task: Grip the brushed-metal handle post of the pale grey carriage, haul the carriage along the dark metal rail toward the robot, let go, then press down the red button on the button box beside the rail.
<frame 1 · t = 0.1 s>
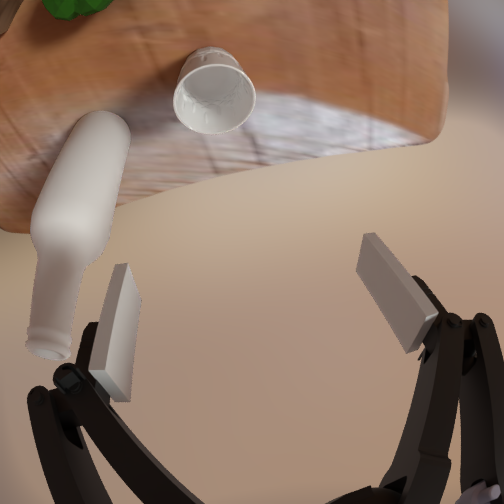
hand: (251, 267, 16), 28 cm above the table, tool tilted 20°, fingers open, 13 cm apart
white cup: (209, 69, 31), on the table
alcohol: (102, 134, 35), on the table
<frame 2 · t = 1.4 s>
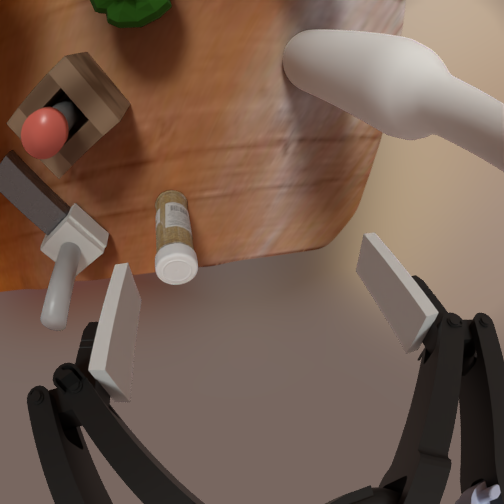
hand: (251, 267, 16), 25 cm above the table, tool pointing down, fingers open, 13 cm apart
sprinkles bottle: (171, 202, 40), on the table
alcohol: (312, 60, 31), on the table
carriage: (64, 271, 32), point 8 cm above the table, slide at 0.0 cm
rail: (48, 206, 34), on the table
red button: (57, 121, 20), point 8 cm above the table, slide at 0.0 cm
button box: (80, 102, 27), on the table
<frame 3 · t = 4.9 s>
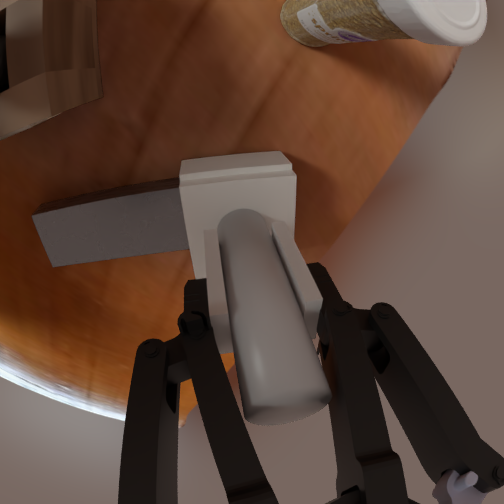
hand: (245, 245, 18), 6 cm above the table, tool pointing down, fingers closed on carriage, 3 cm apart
sprinkles bottle: (310, 19, 15), on the table
carriage: (252, 269, 16), point 8 cm above the table, slide at 0.0 cm, touching gripper
rail: (157, 211, 22), on the table
button box: (42, 58, 13), on the table
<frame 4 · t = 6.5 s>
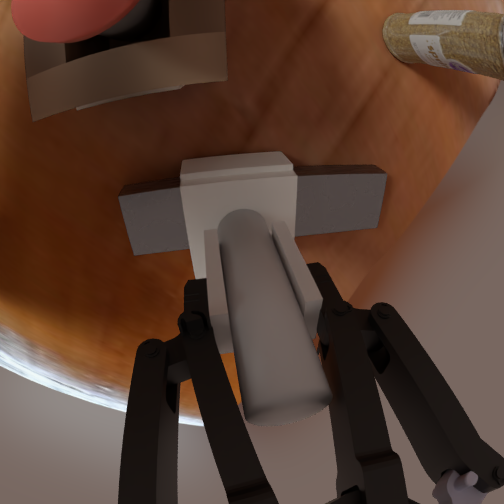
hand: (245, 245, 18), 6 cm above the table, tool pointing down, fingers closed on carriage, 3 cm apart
sprinkles bottle: (402, 37, 16), on the table
carriage: (252, 270, 16), point 8 cm above the table, slide at 7.8 cm, touching gripper
rail: (258, 199, 23), on the table
button box: (146, 25, 14), on the table
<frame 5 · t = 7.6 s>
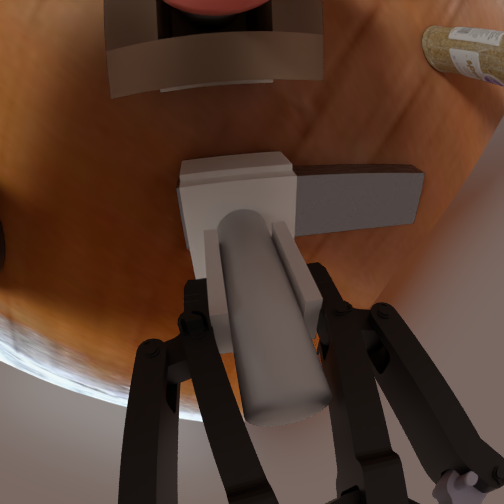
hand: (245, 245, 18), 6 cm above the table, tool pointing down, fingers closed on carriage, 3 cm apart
sprinkles bottle: (437, 48, 16), on the table
carriage: (252, 270, 16), point 8 cm above the table, slide at 12.0 cm, touching gripper
rail: (309, 194, 23), on the table
button box: (208, 17, 14), on the table
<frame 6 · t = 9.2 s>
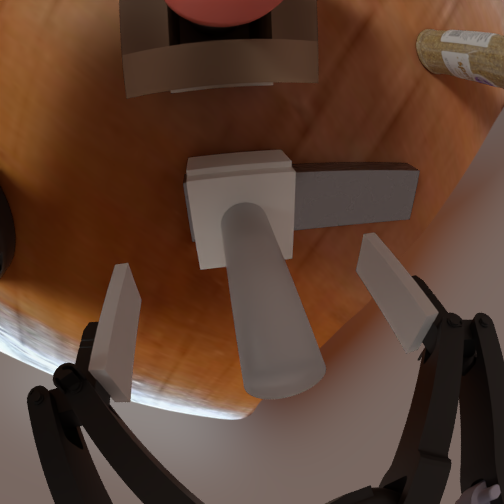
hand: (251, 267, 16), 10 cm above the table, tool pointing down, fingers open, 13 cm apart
sprinkles bottle: (431, 50, 18), on the table
carriage: (253, 257, 17), point 8 cm above the table, slide at 12.0 cm
rail: (308, 191, 24), on the table
button box: (213, 23, 15), on the table
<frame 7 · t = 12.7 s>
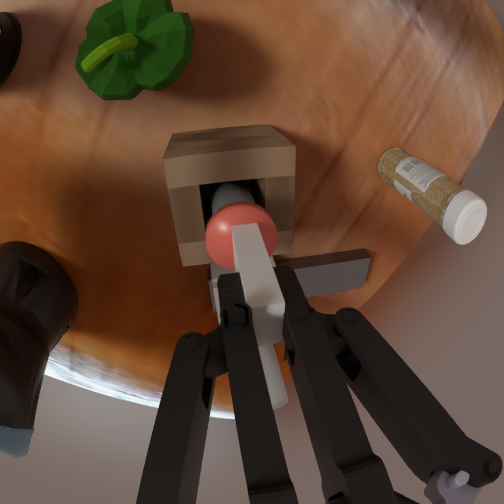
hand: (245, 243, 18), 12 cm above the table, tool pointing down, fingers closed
sprinkles bottle: (391, 163, 30), on the table
bell pepper: (147, 49, 20), on the table
carriage: (254, 334, 29), point 8 cm above the table, slide at 12.0 cm
rail: (290, 274, 37), on the table
red button: (234, 211, 21), point 8 cm above the table, slide at 0.2 cm, touching gripper
button box: (224, 172, 28), on the table
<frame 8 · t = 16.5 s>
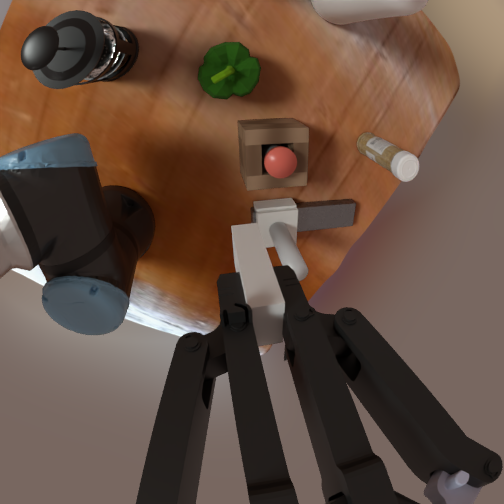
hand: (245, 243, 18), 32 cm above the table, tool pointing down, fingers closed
sprinkles bottle: (366, 142, 49), on the table
bell pepper: (225, 70, 38), on the table
alcohol: (333, 2, 33), on the table
carriage: (283, 242, 48), point 8 cm above the table, slide at 12.0 cm
rail: (303, 214, 55), on the table
red button: (274, 155, 42), point 6 cm above the table, slide at 2.4 cm
french press: (107, 54, 33), on the table
button box: (266, 144, 46), on the table
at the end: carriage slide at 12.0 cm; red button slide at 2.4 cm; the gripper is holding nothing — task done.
